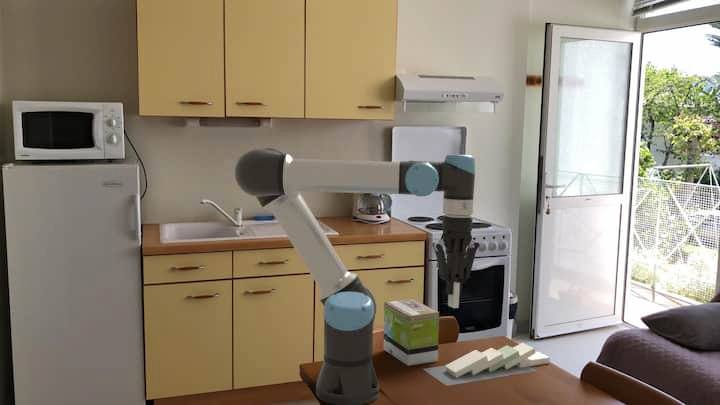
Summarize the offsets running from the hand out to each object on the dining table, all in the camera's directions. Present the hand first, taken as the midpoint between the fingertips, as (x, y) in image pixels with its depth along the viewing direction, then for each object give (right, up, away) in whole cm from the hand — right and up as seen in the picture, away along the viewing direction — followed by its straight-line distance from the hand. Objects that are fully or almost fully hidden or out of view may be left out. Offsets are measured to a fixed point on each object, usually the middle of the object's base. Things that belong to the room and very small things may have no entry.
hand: (453, 306), depth 153 cm
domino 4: (+18, -17, +9) cm, 26 cm away
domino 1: (0, -17, +1) cm, 17 cm away
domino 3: (+14, -17, +7) cm, 23 cm away
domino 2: (+4, -17, +3) cm, 18 cm away
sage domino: (+9, -17, +5) cm, 20 cm away
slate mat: (+8, -18, +5) cm, 21 cm away
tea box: (-10, -17, +16) cm, 25 cm away
